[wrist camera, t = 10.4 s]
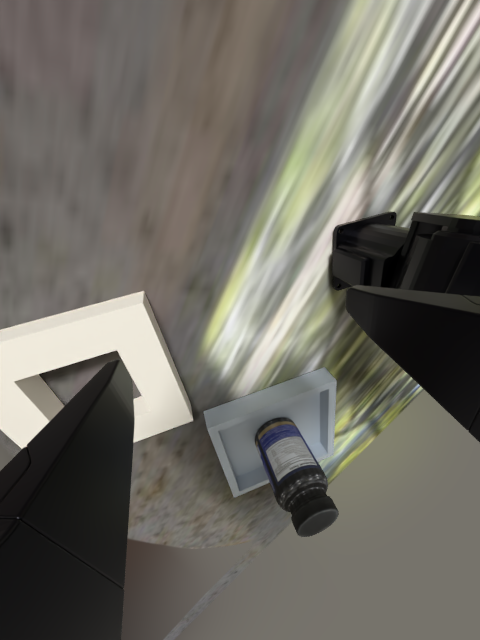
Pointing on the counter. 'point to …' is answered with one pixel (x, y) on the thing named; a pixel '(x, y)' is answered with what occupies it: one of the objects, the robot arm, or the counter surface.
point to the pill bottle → (295, 476)
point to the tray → (260, 407)
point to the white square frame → (84, 343)
